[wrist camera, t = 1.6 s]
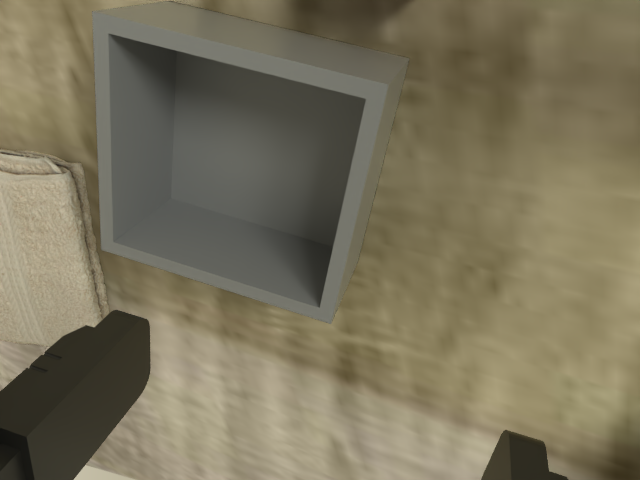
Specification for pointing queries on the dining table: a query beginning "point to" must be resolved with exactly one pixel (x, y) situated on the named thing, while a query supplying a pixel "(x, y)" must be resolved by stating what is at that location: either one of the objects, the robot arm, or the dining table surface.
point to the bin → (239, 150)
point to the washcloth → (46, 250)
